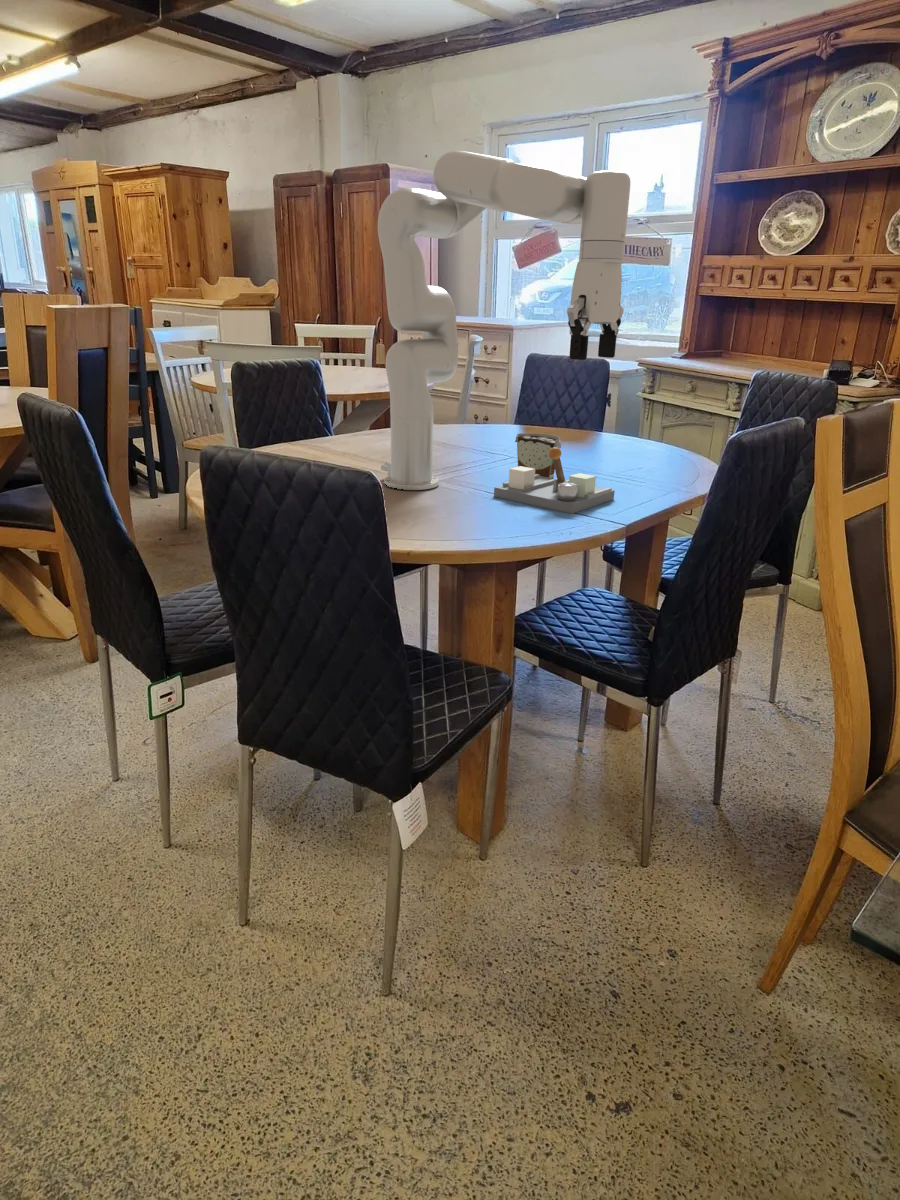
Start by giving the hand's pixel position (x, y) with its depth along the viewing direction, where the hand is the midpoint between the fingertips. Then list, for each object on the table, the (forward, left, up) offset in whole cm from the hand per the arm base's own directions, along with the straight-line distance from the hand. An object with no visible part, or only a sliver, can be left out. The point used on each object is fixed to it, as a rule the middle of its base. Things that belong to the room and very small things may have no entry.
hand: (592, 358), depth 137 cm
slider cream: (-20, +9, -29) cm, 36 cm away
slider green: (-7, +13, -29) cm, 32 cm away
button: (-7, +7, -29) cm, 30 cm away
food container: (-28, +29, -31) cm, 51 cm away
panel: (-14, +13, -31) cm, 36 cm away
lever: (-12, +14, -28) cm, 33 cm away
